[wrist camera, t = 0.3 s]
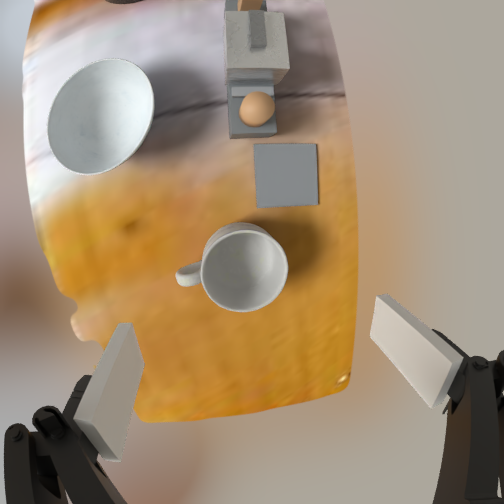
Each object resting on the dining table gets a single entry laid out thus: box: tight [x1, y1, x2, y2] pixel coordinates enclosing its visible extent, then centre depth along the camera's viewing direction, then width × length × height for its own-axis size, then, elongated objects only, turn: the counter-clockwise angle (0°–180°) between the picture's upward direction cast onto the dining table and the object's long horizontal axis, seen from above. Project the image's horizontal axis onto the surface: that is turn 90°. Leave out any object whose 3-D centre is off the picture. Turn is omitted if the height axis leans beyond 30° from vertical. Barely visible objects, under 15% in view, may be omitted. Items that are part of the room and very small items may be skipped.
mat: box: [254, 144, 318, 208], centre depth 38 cm, size 9×9×1 cm
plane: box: [224, 0, 277, 139], centre depth 27 cm, size 21×6×12 cm, turn 3°
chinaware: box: [47, 58, 155, 175], centre depth 29 cm, size 15×15×8 cm
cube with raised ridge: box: [223, 10, 290, 85], centre depth 25 cm, size 8×6×7 cm
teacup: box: [176, 222, 288, 312], centre depth 37 cm, size 14×11×8 cm
